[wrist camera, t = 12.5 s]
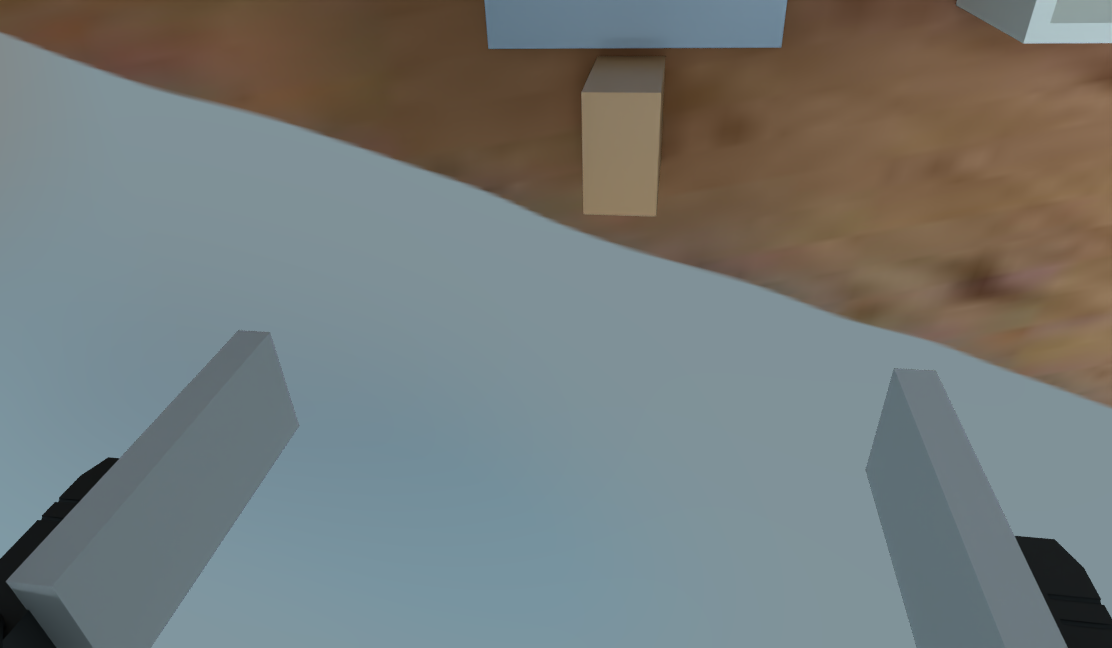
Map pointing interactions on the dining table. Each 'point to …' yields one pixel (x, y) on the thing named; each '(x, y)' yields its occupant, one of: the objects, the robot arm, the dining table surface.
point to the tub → (1046, 19)
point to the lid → (629, 75)
